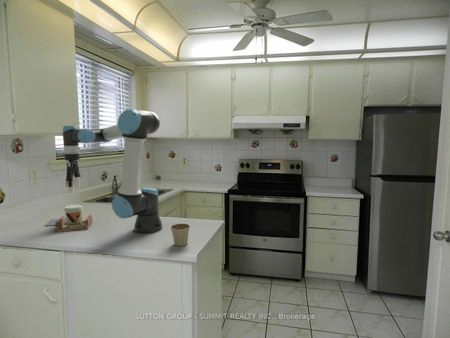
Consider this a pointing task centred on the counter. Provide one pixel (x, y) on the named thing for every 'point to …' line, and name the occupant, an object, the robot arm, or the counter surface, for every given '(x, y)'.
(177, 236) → the flower pot
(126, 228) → the counter surface
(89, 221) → the cradle
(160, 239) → the counter surface
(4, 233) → the counter surface
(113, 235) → the counter surface
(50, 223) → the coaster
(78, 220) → the coffee cup
